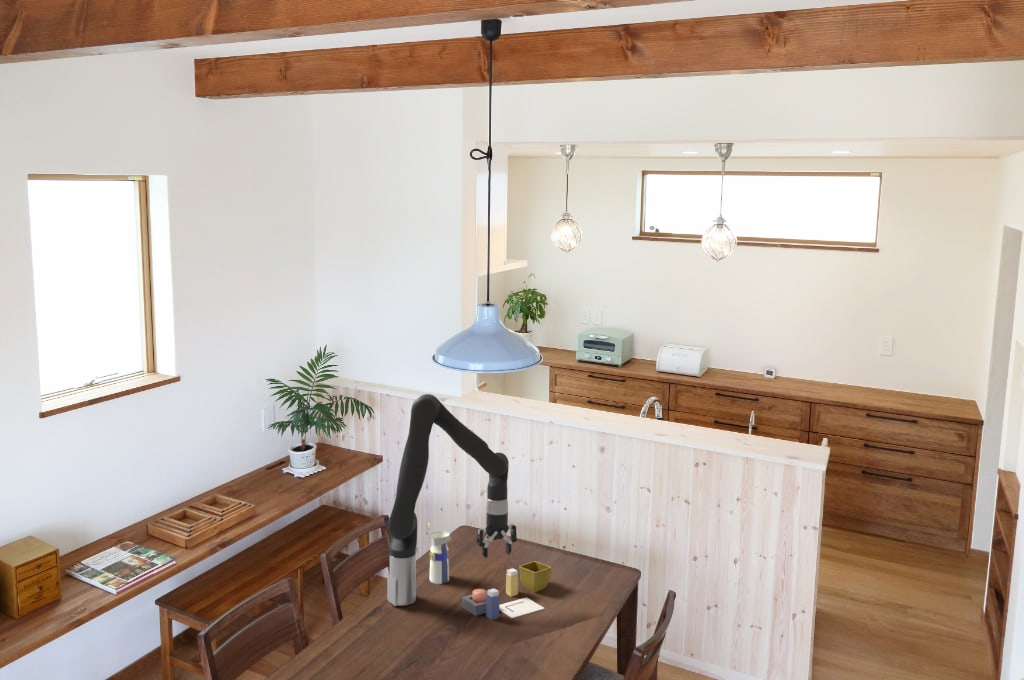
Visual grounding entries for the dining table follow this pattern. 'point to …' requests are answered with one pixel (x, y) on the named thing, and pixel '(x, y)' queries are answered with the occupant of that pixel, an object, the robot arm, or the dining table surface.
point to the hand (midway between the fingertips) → (496, 555)
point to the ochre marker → (512, 582)
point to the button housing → (473, 605)
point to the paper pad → (520, 607)
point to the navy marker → (492, 604)
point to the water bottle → (439, 556)
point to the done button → (479, 595)
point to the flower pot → (534, 575)
